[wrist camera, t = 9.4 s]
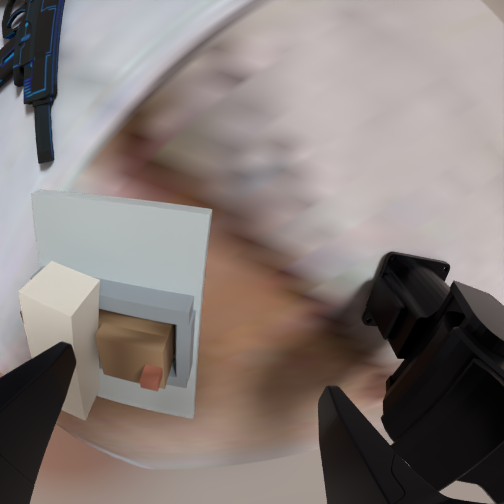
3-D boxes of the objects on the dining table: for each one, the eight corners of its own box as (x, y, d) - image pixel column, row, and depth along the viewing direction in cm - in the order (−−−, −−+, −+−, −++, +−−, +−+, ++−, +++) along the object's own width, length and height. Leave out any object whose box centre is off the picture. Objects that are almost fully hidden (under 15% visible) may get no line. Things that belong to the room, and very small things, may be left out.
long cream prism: (100, 280, 17) (71, 316, 13) (100, 387, 22) (85, 420, 18) (51, 260, 16) (18, 291, 13) (62, 370, 21) (45, 401, 17)
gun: (-28, 178, 18) (72, 154, 18) (-47, 186, 16) (50, 162, 16) (-15, -20, 7) (97, -84, 7) (-30, -23, 5) (83, -96, 5)
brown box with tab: (175, 315, 21) (157, 368, 16) (175, 352, 23) (160, 404, 18) (45, 285, 20) (10, 323, 15) (53, 322, 22) (25, 361, 17)
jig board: (212, 209, 19) (205, 225, 16) (194, 410, 28) (190, 433, 25) (40, 189, 18) (15, 201, 15) (78, 381, 27) (68, 401, 24)
